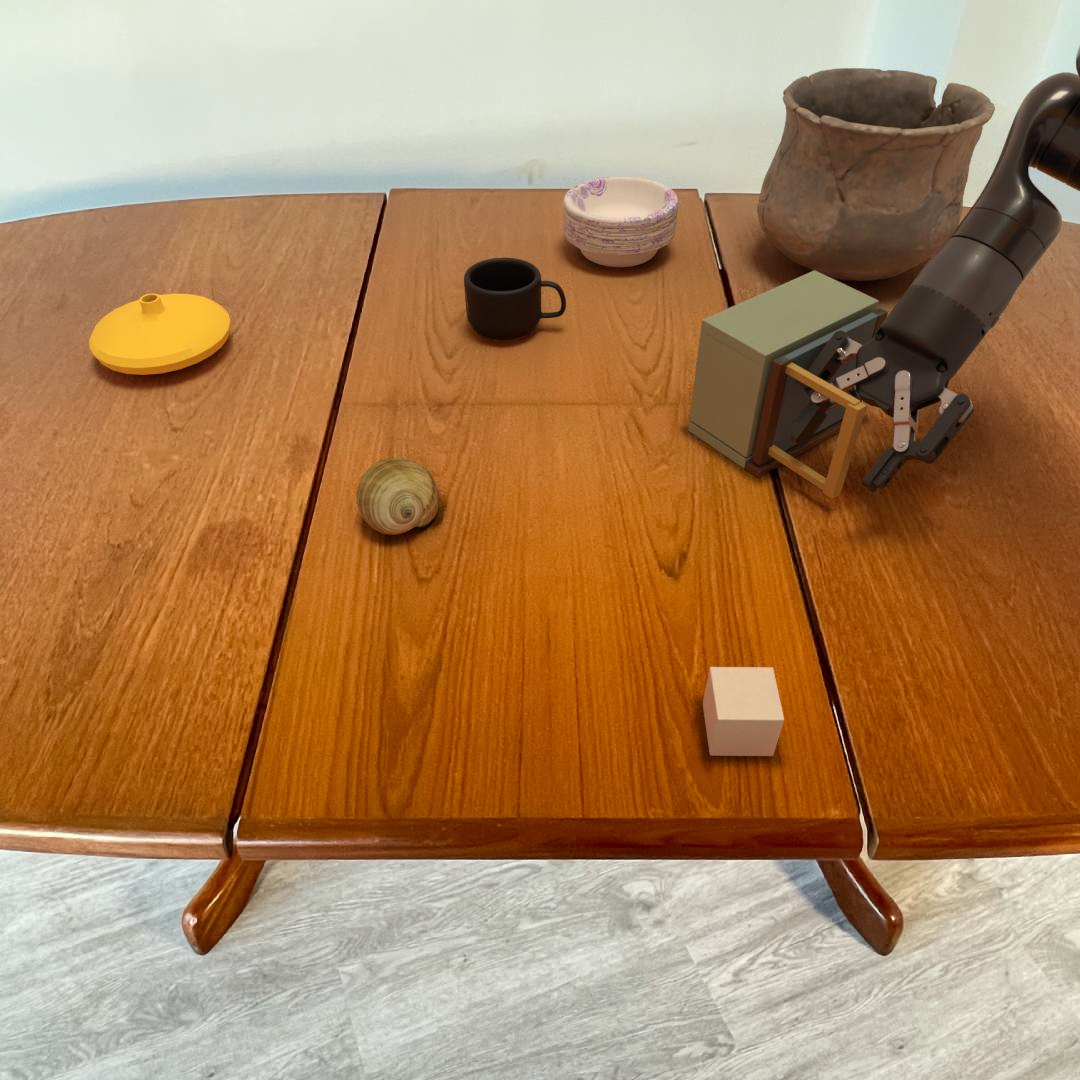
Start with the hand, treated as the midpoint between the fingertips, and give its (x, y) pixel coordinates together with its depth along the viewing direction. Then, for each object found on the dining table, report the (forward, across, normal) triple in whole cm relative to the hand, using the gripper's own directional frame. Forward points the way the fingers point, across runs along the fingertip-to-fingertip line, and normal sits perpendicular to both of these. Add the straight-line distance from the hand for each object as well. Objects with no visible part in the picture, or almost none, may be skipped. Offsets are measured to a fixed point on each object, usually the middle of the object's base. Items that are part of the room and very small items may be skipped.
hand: (830, 465), depth 78 cm
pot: (-25, -31, +34) cm, 52 cm away
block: (+21, +12, -12) cm, 27 cm away
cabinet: (-1, -13, +10) cm, 16 cm away
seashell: (+26, -24, -17) cm, 40 cm away
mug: (+6, -44, +3) cm, 45 cm away
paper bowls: (-10, -52, +19) cm, 56 cm away
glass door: (-2, -4, +9) cm, 10 cm away
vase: (+31, -66, -22) cm, 76 cm away
